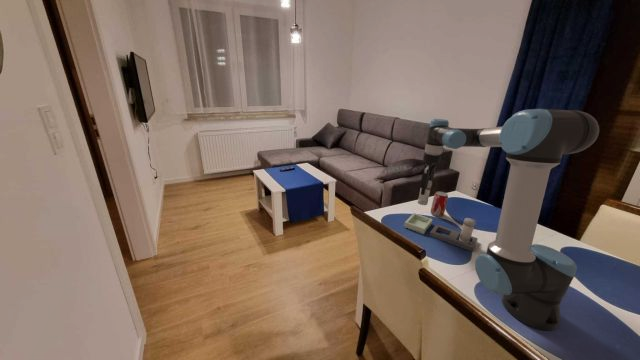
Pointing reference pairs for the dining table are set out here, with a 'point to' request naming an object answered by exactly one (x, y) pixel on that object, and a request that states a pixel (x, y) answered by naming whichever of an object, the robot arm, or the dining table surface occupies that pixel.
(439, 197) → the soda can
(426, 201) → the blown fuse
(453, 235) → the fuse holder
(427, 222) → the tray
